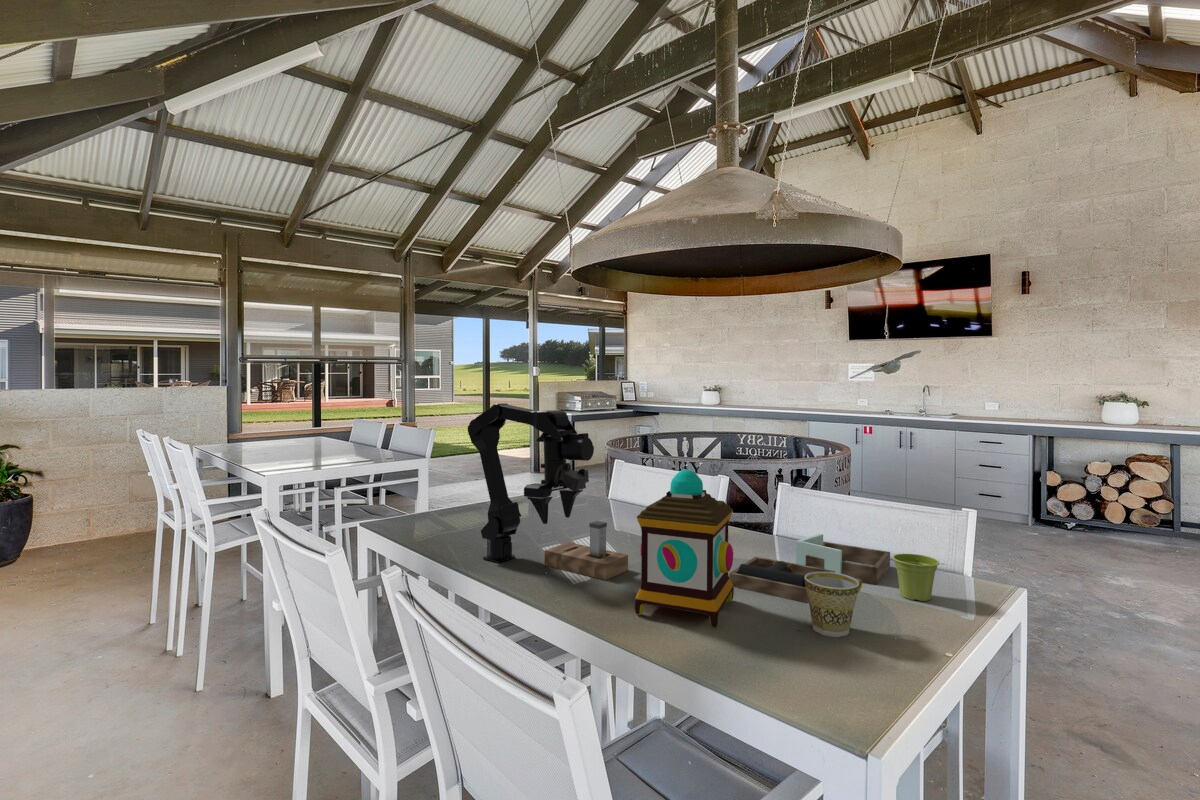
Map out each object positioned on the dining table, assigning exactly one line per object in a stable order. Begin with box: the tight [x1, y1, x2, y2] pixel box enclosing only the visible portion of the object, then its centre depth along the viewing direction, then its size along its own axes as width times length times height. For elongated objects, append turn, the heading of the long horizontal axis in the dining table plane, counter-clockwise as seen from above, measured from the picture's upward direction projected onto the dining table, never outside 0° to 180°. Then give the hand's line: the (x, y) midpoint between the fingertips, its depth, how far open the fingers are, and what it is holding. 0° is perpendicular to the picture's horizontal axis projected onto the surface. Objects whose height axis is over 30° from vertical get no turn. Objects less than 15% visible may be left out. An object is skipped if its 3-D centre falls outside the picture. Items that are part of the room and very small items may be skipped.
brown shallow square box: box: [806, 541, 891, 586], centre depth 151 cm, size 17×17×4 cm
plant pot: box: [892, 553, 940, 602], centre depth 131 cm, size 9×9×9 cm
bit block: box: [544, 541, 629, 581], centre depth 151 cm, size 20×10×4 cm, turn 54°
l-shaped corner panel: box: [795, 533, 843, 574], centre depth 151 cm, size 12×12×8 cm
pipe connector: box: [738, 560, 805, 587], centre depth 138 cm, size 12×5×15 cm
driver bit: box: [589, 520, 608, 559], centre depth 149 cm, size 3×3×12 cm
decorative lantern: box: [634, 468, 735, 629], centre depth 124 cm, size 20×20×30 cm
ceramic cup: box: [804, 572, 863, 638], centre depth 113 cm, size 13×10×10 cm
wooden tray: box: [728, 556, 835, 604], centre depth 139 cm, size 20×17×3 cm
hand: (556, 520), depth 147 cm, fingers open, 9 cm apart
